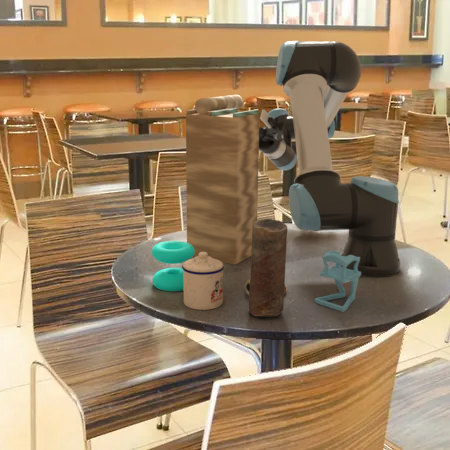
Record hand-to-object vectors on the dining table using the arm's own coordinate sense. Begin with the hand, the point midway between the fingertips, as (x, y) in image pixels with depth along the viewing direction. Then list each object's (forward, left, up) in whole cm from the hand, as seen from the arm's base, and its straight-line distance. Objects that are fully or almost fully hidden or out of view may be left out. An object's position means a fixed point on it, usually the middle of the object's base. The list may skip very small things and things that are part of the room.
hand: (240, 112), depth 186 cm
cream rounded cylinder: (-6, +10, +1) cm, 12 cm away
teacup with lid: (-40, +33, -37) cm, 64 cm away
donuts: (-28, +35, -37) cm, 58 cm away
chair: (-55, +7, -37) cm, 67 cm away
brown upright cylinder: (-53, +25, -37) cm, 69 cm away
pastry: (-42, +19, -37) cm, 59 cm away
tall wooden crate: (-12, +13, -37) cm, 41 cm away
